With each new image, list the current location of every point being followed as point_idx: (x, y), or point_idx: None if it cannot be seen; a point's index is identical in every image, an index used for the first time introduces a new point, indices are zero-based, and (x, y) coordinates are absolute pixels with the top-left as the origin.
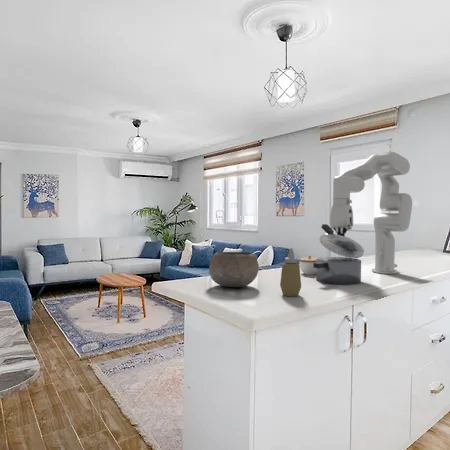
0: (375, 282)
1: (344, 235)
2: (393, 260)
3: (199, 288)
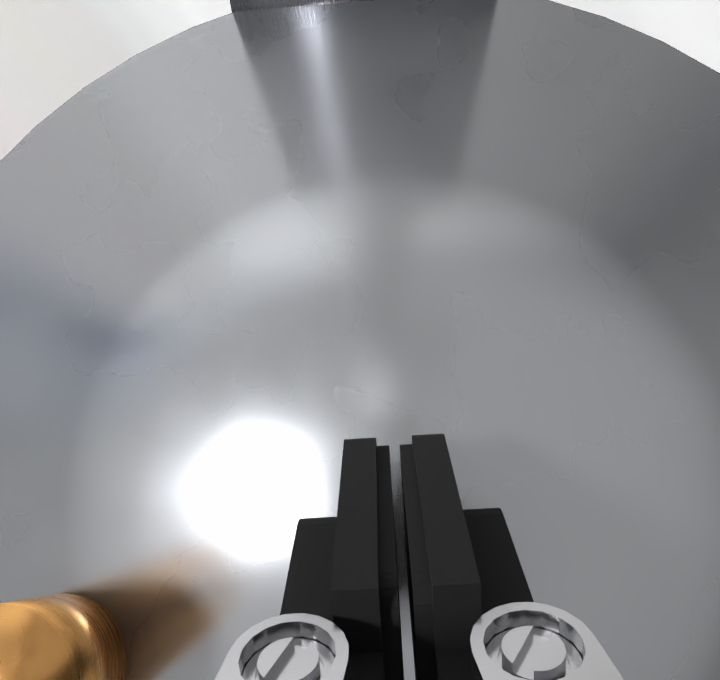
0: (698, 32)
1: (528, 596)
2: None
3: None
